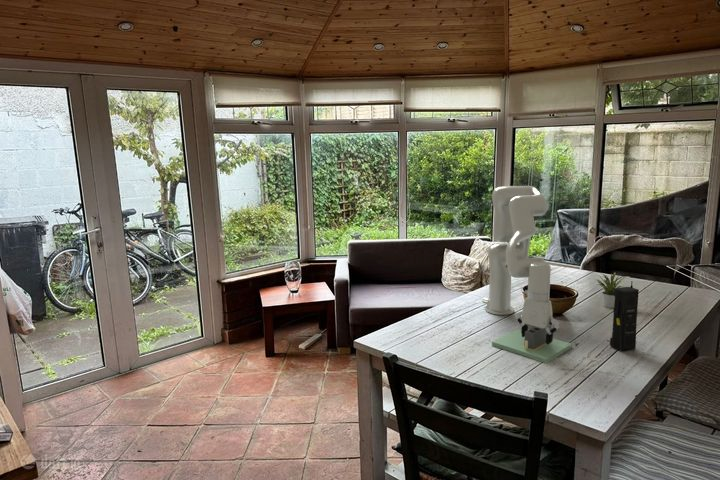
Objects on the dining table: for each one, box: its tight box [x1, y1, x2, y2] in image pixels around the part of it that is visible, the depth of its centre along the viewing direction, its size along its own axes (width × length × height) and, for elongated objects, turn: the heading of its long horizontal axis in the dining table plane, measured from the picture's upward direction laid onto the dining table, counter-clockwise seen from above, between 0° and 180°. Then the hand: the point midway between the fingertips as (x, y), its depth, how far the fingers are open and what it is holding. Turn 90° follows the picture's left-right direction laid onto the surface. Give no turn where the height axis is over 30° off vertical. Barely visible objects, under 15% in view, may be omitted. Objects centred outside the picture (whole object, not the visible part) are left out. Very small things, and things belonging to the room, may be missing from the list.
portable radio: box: [609, 281, 640, 352], centre depth 175 cm, size 8×6×25 cm
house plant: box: [594, 272, 631, 309], centre depth 222 cm, size 14×14×16 cm
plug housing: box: [524, 326, 547, 350], centre depth 178 cm, size 4×11×6 cm, turn 131°
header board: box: [491, 328, 573, 364], centre depth 180 cm, size 22×19×5 cm
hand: (536, 339), depth 179 cm, fingers open, 9 cm apart
